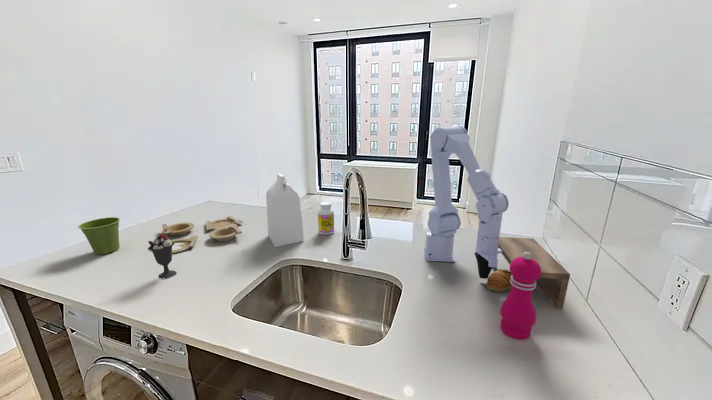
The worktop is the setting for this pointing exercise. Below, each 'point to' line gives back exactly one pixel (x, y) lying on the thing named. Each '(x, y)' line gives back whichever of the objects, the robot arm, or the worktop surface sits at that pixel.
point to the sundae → (163, 254)
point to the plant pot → (102, 234)
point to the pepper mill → (520, 298)
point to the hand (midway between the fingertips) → (483, 277)
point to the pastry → (499, 281)
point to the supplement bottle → (325, 219)
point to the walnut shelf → (551, 271)
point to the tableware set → (221, 227)
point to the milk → (283, 213)
